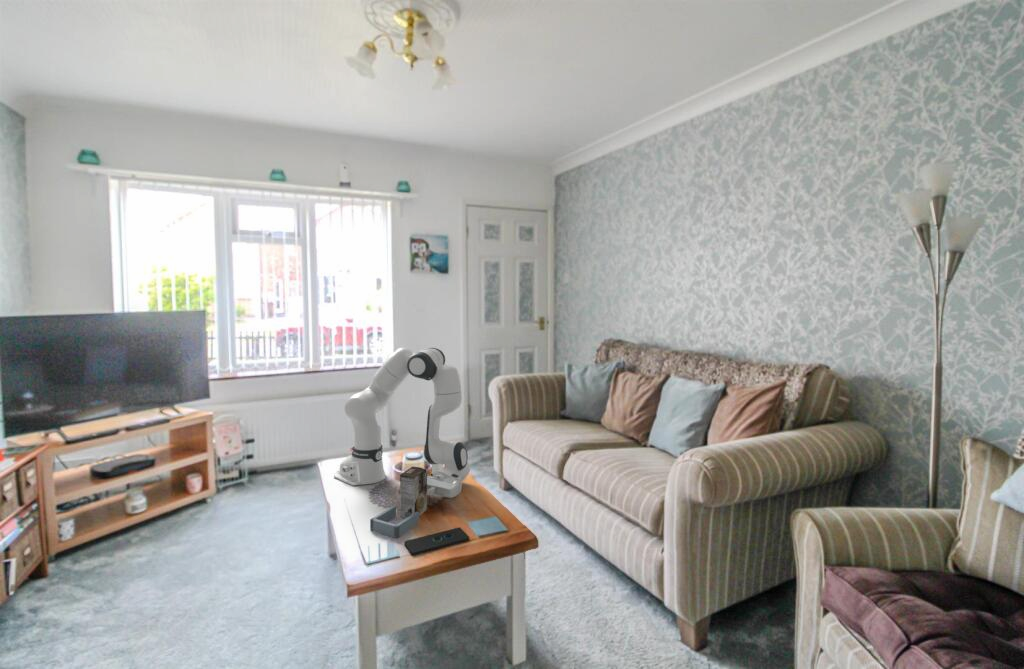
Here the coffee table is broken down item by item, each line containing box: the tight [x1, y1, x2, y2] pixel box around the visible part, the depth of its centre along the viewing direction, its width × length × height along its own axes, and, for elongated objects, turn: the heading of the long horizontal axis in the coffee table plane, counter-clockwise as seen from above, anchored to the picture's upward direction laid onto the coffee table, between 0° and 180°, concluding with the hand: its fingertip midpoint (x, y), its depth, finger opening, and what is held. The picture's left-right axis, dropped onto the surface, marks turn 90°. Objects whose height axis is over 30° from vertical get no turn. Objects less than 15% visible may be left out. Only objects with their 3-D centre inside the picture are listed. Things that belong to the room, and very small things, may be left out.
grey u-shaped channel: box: [369, 505, 420, 540], centre depth 169 cm, size 11×12×4 cm
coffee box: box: [399, 466, 428, 519], centre depth 179 cm, size 9×6×16 cm
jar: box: [422, 445, 444, 476], centre depth 220 cm, size 9×8×12 cm
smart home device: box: [403, 527, 470, 557], centre depth 160 cm, size 8×2×20 cm
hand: (422, 493), depth 183 cm, fingers closed
